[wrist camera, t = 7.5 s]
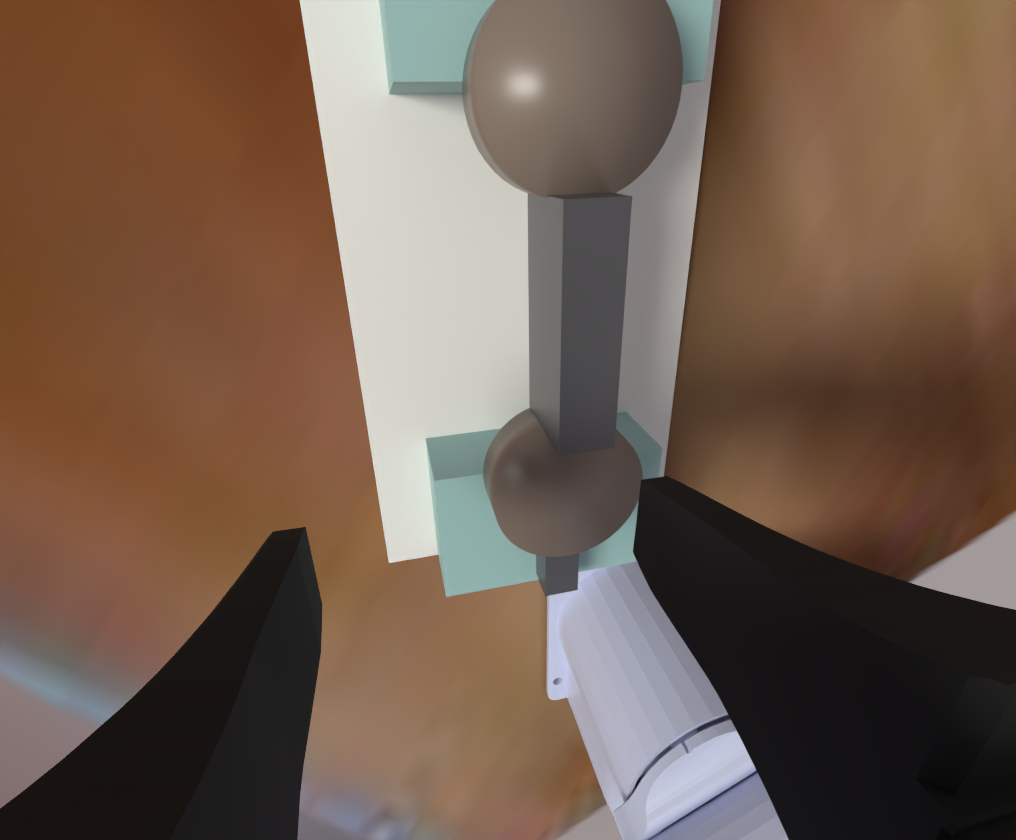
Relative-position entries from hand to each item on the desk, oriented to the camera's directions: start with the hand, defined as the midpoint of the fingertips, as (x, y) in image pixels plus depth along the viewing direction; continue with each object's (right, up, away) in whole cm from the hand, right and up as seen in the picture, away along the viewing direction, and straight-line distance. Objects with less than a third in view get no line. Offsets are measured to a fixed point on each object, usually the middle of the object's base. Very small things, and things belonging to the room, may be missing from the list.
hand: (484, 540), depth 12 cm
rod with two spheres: (+2, +6, +4) cm, 8 cm away
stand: (+1, +8, +8) cm, 11 cm away
